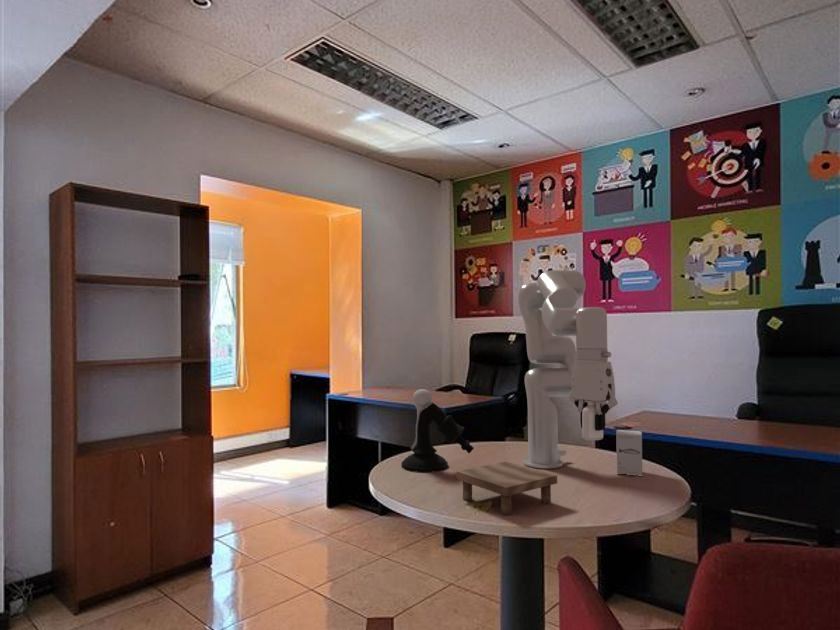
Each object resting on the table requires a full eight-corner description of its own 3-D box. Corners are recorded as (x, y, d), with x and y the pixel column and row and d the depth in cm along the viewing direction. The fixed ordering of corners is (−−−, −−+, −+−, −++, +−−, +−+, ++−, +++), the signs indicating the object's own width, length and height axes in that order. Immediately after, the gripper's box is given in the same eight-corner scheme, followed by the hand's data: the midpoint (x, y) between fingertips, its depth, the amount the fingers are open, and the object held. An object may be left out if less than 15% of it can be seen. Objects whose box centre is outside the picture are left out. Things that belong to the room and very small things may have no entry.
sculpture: (408, 459, 177) (408, 386, 178) (477, 463, 172) (476, 387, 173) (395, 470, 162) (395, 390, 163) (470, 475, 157) (469, 392, 158)
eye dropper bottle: (607, 440, 128) (606, 392, 128) (584, 440, 128) (584, 392, 128) (600, 437, 132) (600, 390, 133) (579, 437, 132) (578, 390, 133)
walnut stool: (506, 486, 145) (505, 461, 145) (557, 503, 130) (557, 475, 130) (456, 498, 134) (456, 471, 134) (506, 518, 120) (506, 487, 120)
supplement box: (616, 475, 157) (615, 433, 157) (617, 469, 164) (616, 429, 164) (643, 477, 154) (642, 434, 154) (642, 471, 161) (641, 430, 161)
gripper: (630, 356, 126) (631, 432, 126) (574, 354, 140) (575, 422, 139) (611, 357, 122) (613, 435, 121) (556, 355, 135) (556, 425, 135)
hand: (592, 428), depth 130 cm, fingers closed on eye dropper bottle, 3 cm apart
